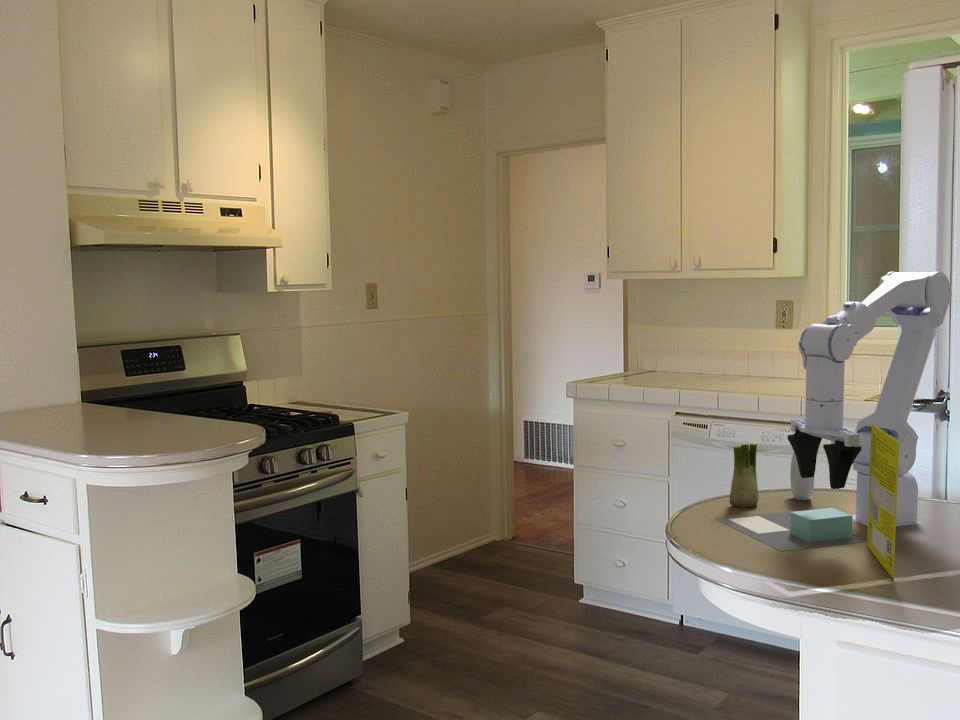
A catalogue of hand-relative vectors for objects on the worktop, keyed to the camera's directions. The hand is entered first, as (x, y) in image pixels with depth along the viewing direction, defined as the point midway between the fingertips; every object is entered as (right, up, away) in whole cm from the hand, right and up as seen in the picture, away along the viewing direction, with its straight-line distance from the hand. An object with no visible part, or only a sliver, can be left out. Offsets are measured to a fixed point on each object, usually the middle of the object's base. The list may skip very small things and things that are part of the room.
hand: (822, 482), depth 148 cm
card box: (0, -9, +1) cm, 9 cm away
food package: (+4, -11, -12) cm, 17 cm away
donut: (+5, -7, +25) cm, 26 cm away
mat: (-4, -9, +4) cm, 11 cm away
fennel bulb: (-7, -8, +20) cm, 23 cm away
